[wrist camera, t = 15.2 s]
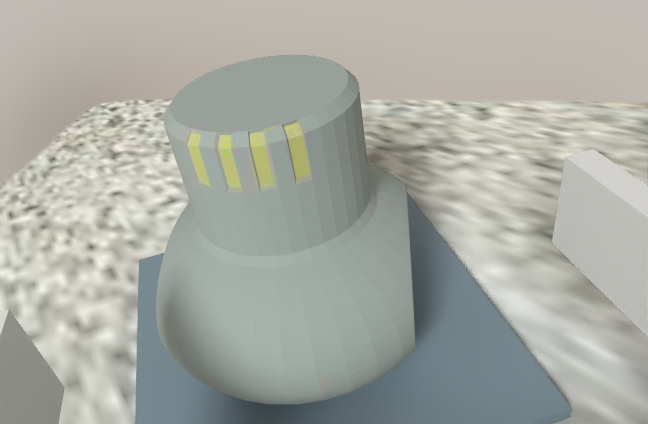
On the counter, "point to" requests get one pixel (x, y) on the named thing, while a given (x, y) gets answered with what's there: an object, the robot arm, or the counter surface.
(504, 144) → the counter surface
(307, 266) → the air freshener
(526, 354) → the rubber mat
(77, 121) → the counter surface
